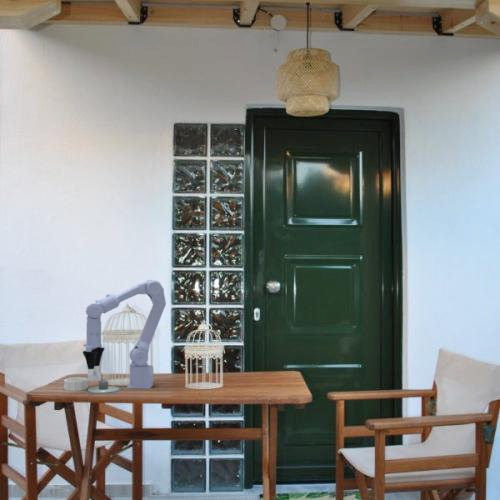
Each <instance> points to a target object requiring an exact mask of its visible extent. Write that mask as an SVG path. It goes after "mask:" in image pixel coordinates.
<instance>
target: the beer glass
mask: <svg viewBox="0 0 500 500" xmlns="http://www.w3.org/2000/svg"><path fill="white" fill-rule="evenodd" d="M100 348H103V345H102V346H101V347H100ZM103 355H104V352H103V353H102V356H101V361H100V365H99V366H94V369H88V366H87V365H86V367H87V379H88V382H99V381H102V374H101V372H102V371H101V370H102V364H103V359H104V358H103V357H104V356H103Z"/></svg>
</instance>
